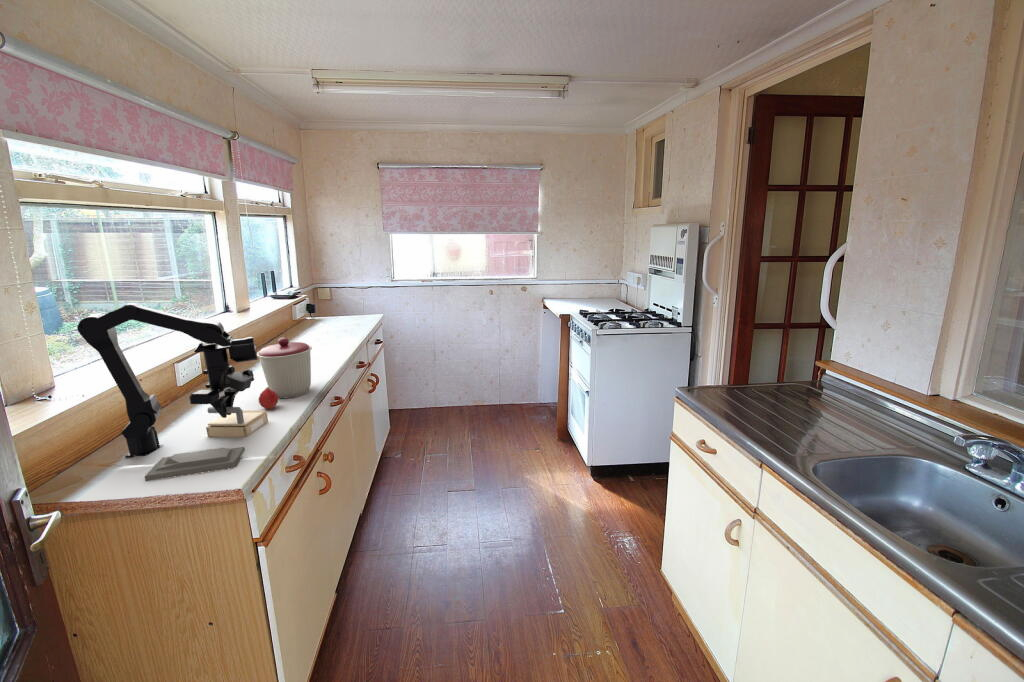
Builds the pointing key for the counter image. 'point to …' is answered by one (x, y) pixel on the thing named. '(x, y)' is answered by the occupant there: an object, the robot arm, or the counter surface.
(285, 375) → the canister
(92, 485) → the counter surface
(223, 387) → the robot arm
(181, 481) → the counter surface
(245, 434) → the carton
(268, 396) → the onion
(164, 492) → the counter surface
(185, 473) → the soap mold
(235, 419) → the flap
